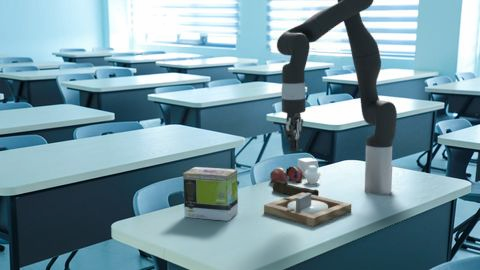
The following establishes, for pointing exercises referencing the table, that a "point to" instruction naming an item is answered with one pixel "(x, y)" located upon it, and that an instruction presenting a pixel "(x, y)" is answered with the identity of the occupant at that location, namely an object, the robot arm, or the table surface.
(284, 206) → the wooden frame
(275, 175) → the teeth model
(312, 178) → the white fluted cup
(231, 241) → the table surface
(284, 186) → the hand tool
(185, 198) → the tea box
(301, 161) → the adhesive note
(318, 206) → the dial
